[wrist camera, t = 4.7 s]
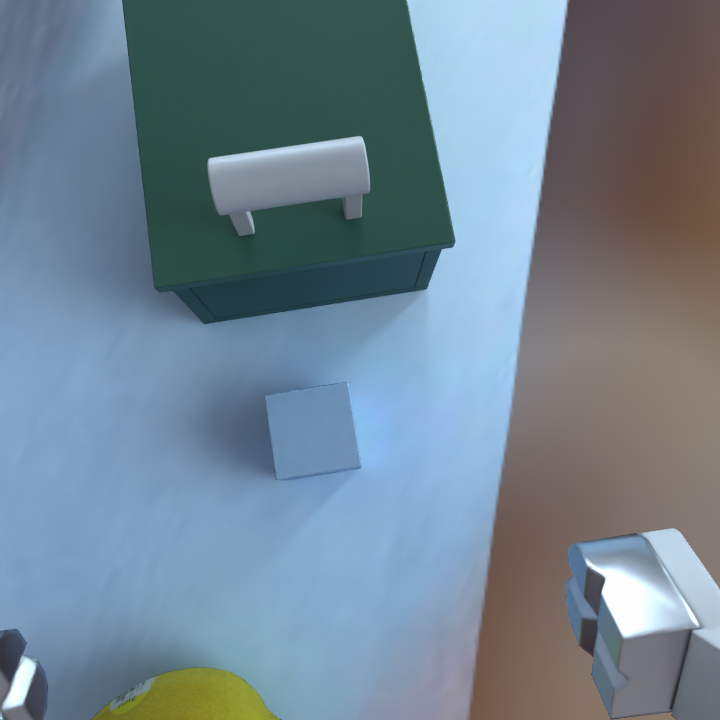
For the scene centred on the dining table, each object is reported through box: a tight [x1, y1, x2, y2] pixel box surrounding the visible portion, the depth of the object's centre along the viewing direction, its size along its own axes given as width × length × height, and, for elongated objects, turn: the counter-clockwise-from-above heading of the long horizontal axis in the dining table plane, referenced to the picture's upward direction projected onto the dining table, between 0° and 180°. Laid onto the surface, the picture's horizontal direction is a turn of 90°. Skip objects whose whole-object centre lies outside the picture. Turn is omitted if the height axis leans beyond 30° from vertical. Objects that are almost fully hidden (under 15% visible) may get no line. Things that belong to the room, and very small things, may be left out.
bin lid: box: [122, 0, 455, 292], centre depth 27 cm, size 19×13×6 cm, turn 9°
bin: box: [173, 249, 442, 324], centre depth 34 cm, size 19×13×9 cm
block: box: [264, 382, 362, 480], centre depth 33 cm, size 4×4×5 cm
